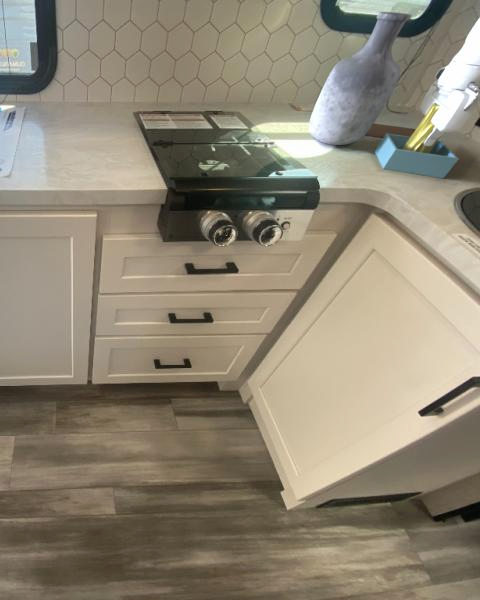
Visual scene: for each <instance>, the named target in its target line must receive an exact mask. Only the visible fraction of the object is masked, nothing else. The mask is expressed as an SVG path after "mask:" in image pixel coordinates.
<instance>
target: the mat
mask: <svg viewBox="0 0 480 600" xmlns="http://www.w3.org/2000/svg"><path fill="white" fill-rule="evenodd" d="M415 130H416V128H411V127H405V126H397V125H389V124H381V123H374V124H373V125H372V126H371V128H370V129H369V131H368V132H367V133H366V134H365V135H364V137H365V136H366V137H373V138H380V139H382V138H383V137H384V135H385V134H386V133H387V134H394V135H401V136H409V137H411V136H412V134H413V133H414V131H415Z"/></svg>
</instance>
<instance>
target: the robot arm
mask: <svg viewBox="0 0 480 600" xmlns="http://www.w3.org/2000/svg"><path fill="white" fill-rule="evenodd" d="M434 79H435V80H434V81H433V83H432V84H431V86H430V87H429V89H428V91H427V92H426V94H425V96H424V98H423V99H422V101H421V103H420V106H419V112H420V113H422V114H423V115H424V116H425V115H426V114H427V112H428V111H429V109H430V108H431V106H432V105H433V104H434V103H436V104H435V105H438V106H440V108H439V109H438V111H437V112H436V113H435V115H434V116H433V118H432V119H431V122H432V123H433V125H434V126H435V127H434V128H433V131H432V132H431V134H430V135H429V136H426V138H425V139H424V141H423V144H424V145H425V146H432V145H433V144H434V142H435V141H436V139H438V138H439V137H440V136H443V135H445V133H446V134H447V133H449V134H458V133H459V132H460V131H461V130H463V128H464V127H465V126H466V125H467V123H468V122H469V120H470V119H471V117H472V115H473V114H474V113H475V111H476V109H477V108H478V106H479V104H480V17H478V19H477V21H476V22H475V23H474V25H473V26H472V28H471V30H470V31H469V32H468V34H467V36H466V38H465V41H464V43H463V46H462V47H461V49H460V50H459V51H458V52H457V53H456V54H455V55H454V56H453V58H452V59H451V61H450V62H449V64H448V65H446V66H444V67H441V68H439V70H438V71H437V72H436V74H435V76H434ZM440 138H441V137H440ZM440 138H439V139H440ZM439 139H438V140H439Z"/></svg>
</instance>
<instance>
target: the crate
mask: <svg viewBox="0 0 480 600" xmlns="http://www.w3.org/2000/svg"><path fill="white" fill-rule="evenodd" d="M409 138H410V137H409V136H401V135H394V134H387V133H386V134H385V135H384V137H383V138H381V140H380V141H379V144H378V145H377V147H376V148H375V150H374V154H375V156H376V157H377V160H378V162H379V164H380V165H381V167H382V169H383V170H389V171H394V172H401V173H405V174H406V173H407V174H411V175H412V174H414V175H418V176H419V175H420V176H425V177H432V178H437V179H444V178H445V177H446V176H447V174H448V173H449V172H450V171H451V169H452V168H453V167H454V166H455V165H456V163H457V162H458V161H459V157H458V156H457V155H456V154H455V153H454V151H452V149H451V148H450V147H448V145H447V144H446V143H445V142H444V141H443V140H438V141H437V142H436V144H435V145H434V147H433V148H432V150H431V151H430V153H429V154H428V153H421V152H414V151H407V150H402V148H403V147H404V145H405V144H406V143H407V141H408V140H409Z"/></svg>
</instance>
